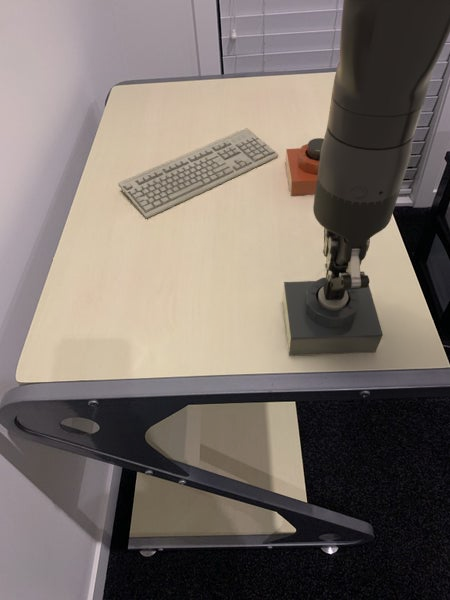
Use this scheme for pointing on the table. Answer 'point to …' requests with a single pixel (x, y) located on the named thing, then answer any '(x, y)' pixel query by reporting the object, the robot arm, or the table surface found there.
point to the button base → (301, 171)
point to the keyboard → (196, 172)
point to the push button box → (329, 321)
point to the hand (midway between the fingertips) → (332, 295)
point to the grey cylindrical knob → (332, 301)
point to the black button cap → (314, 149)
